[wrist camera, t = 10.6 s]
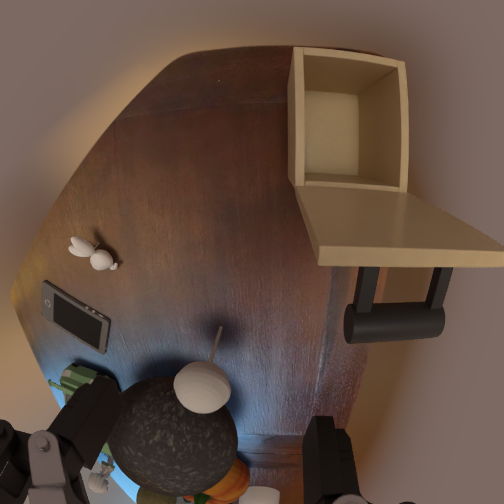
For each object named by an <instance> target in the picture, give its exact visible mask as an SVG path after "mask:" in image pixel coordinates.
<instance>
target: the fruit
mask: <svg viewBox="0 0 504 504" xmlns="http://www.w3.org/2000/svg"><path fill="white" fill-rule="evenodd" d="M136 502H137V504H176V503H177V497H172V496H165V495H160V494H157V493H154V492H151V491H149V490H146V489H144V488H143V487H140V488H139V490H138V493H137V500H136Z"/></svg>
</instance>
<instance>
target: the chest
mask: <svg viewBox="0 0 504 504" xmlns="http://www.w3.org/2000/svg"><path fill="white" fill-rule="evenodd" d="M287 88H288V179H289V180H290V182H291V184H292V185H293V187H294V189H295V187H296V186H311V187H333V188H351V189H365V190H378V191H390V192H401V193H407V180H408V158H409V157H408V156H409V115H408V95H407V80H406V69H405V62H403V61H398V60H394V59H389V58H384V57H379V56H374V55H368V54H362V53H355V52H348V51H340V50H331V49H321V48H307V47H294V48H293V55H292V61H291V67H290V74H289V80H288V86H287Z"/></svg>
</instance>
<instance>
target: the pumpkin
mask: <svg viewBox="0 0 504 504" xmlns="http://www.w3.org/2000/svg"><path fill="white" fill-rule="evenodd" d="M249 482H250V472H249V469H248V467H247V466H246V465H245V464H244V463H243V462H242V461H241V460H240V459H239V458H237V457H236V458H235V461H234V463H233V465H232V467H231V469H230V470H229V472H228V473H227V475H226V476H225V477H224V478H223V479H222V480H221V481H220V482H219V483H218V484H216V485H215V486H214V487H212V488H210V489H208V490H206V491H204V492H202V493H199V494H195V495H191V496H183V498H185V499H187V500H189V501H192V502H194V504H228V503H231V502H234V501H236V500H237V499H238V498H239V497H241V496H242V495H243V494H244V493H245V492H246V490H247V489H248V486H249Z"/></svg>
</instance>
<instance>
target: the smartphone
mask: <svg viewBox="0 0 504 504" xmlns="http://www.w3.org/2000/svg"><path fill="white" fill-rule="evenodd" d="M42 315H43V317H45V318H46V319H47V320H49V321H50V322H52V323H53V324H55V325H56V326H58V327H59V328H61V329H62V330H64V331H65V332H67V333H68V334H70V335H71V336H73V337H74V338H76V339H78V340H79V341H81V342H82V343H84V344H86V345H87V346H89V347H91V348H92V349H94V350H96V351H97V352H99V353H101V354H105V353H106V349H107V342H108V335H109V329H110V323H111V321H110V320H109V319H108V318H107V317H105V316H103V315H101V314H100V313H98V312H96V311H95V310H93V309H91V308H89V307H88V306H86V305H84V304H82V303H81V302H79V301H78V300H76V299H74V298H73V297H71V296H69V295H68V294H66V293H65V292H63V291H62V290H60V289H59V288H57V287H55V286H54V285H52V284H51V283H49V282H48V281H46V280H45V281H43V282H42Z"/></svg>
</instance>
